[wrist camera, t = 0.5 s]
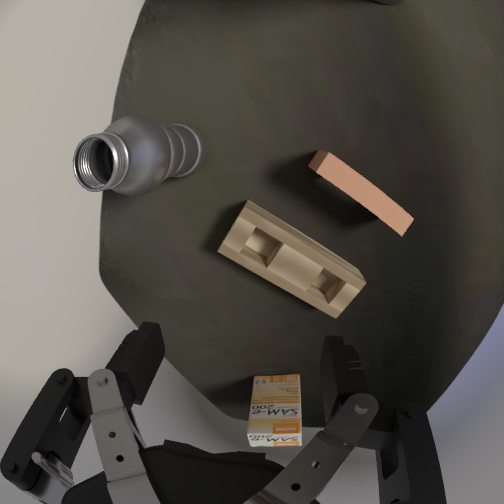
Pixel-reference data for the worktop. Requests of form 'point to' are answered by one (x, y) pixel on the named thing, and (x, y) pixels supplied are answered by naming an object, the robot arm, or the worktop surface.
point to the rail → (291, 260)
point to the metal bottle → (138, 155)
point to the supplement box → (275, 411)
